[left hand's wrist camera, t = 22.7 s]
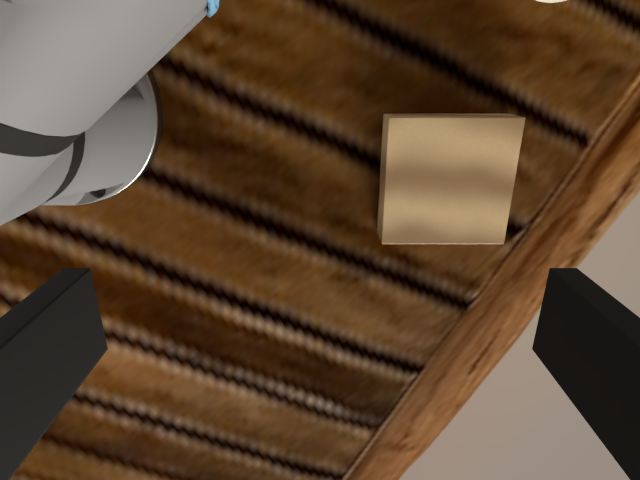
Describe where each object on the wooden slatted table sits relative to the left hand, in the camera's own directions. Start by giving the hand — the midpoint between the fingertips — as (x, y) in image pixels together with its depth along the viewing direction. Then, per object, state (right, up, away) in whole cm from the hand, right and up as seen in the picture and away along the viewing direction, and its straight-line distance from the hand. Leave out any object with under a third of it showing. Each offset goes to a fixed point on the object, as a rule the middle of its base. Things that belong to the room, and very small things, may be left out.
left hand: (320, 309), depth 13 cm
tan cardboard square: (+10, +7, +24) cm, 27 cm away
